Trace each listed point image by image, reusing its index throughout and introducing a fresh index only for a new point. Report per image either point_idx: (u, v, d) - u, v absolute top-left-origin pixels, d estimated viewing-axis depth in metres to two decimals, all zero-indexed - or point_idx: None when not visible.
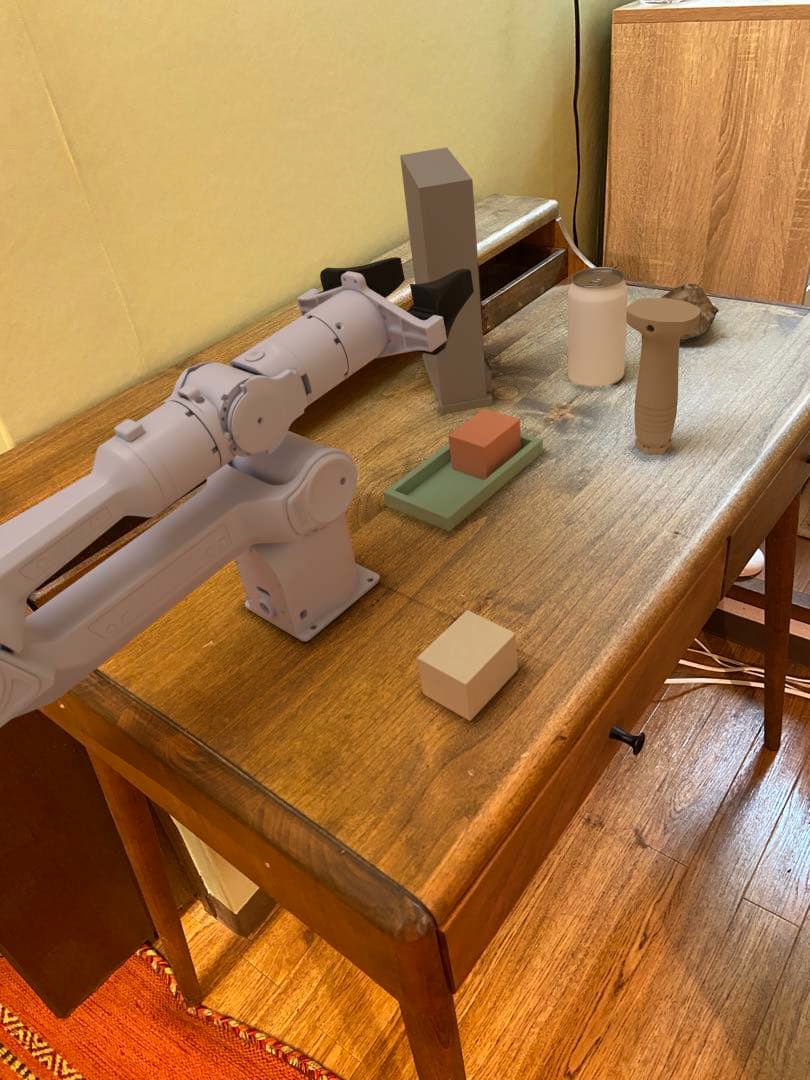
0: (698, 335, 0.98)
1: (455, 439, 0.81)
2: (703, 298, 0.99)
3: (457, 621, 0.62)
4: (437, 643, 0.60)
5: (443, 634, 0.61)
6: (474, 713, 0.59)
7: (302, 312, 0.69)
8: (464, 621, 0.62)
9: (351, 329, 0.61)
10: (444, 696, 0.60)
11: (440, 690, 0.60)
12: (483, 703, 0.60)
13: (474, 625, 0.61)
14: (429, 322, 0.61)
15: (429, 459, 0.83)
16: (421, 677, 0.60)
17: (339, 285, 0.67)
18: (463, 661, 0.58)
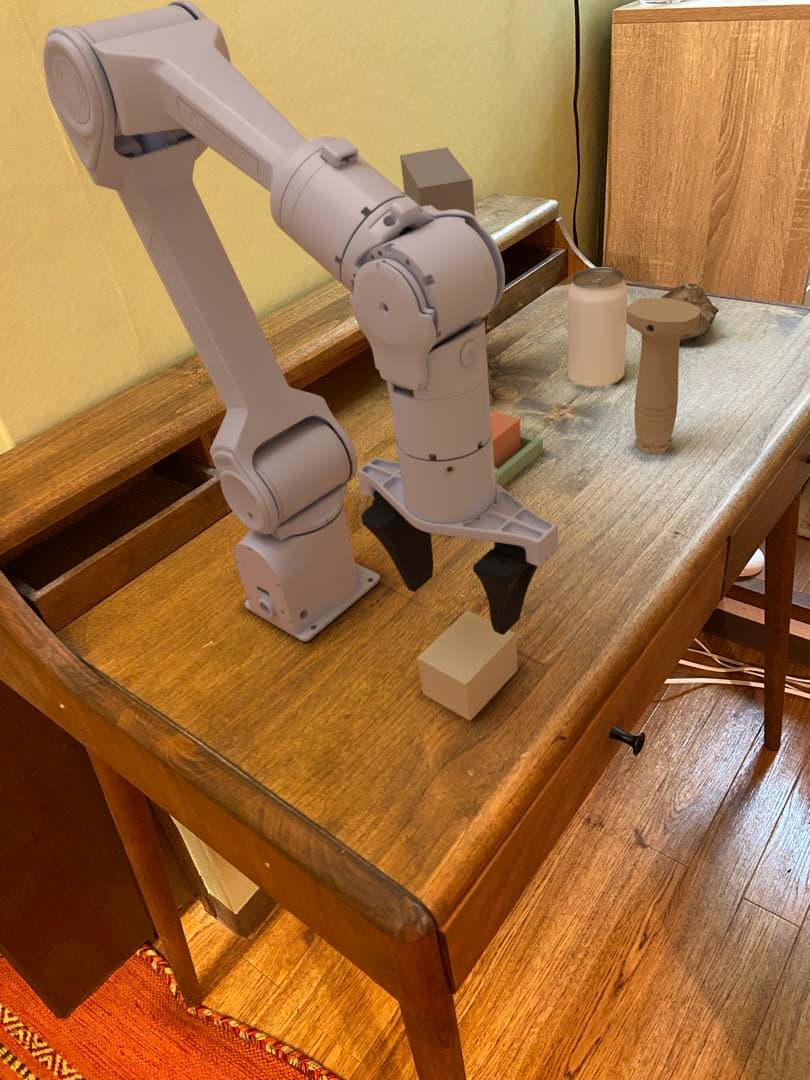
0: (698, 335, 0.98)
1: None
2: (703, 298, 0.99)
3: (457, 621, 0.62)
4: (437, 643, 0.60)
5: (443, 634, 0.61)
6: (474, 713, 0.59)
7: (365, 467, 0.55)
8: (464, 621, 0.62)
9: (492, 454, 0.49)
10: (444, 696, 0.60)
11: (440, 690, 0.60)
12: (483, 703, 0.60)
13: (474, 625, 0.61)
14: None
15: None
16: (421, 677, 0.60)
17: None
18: (463, 661, 0.58)
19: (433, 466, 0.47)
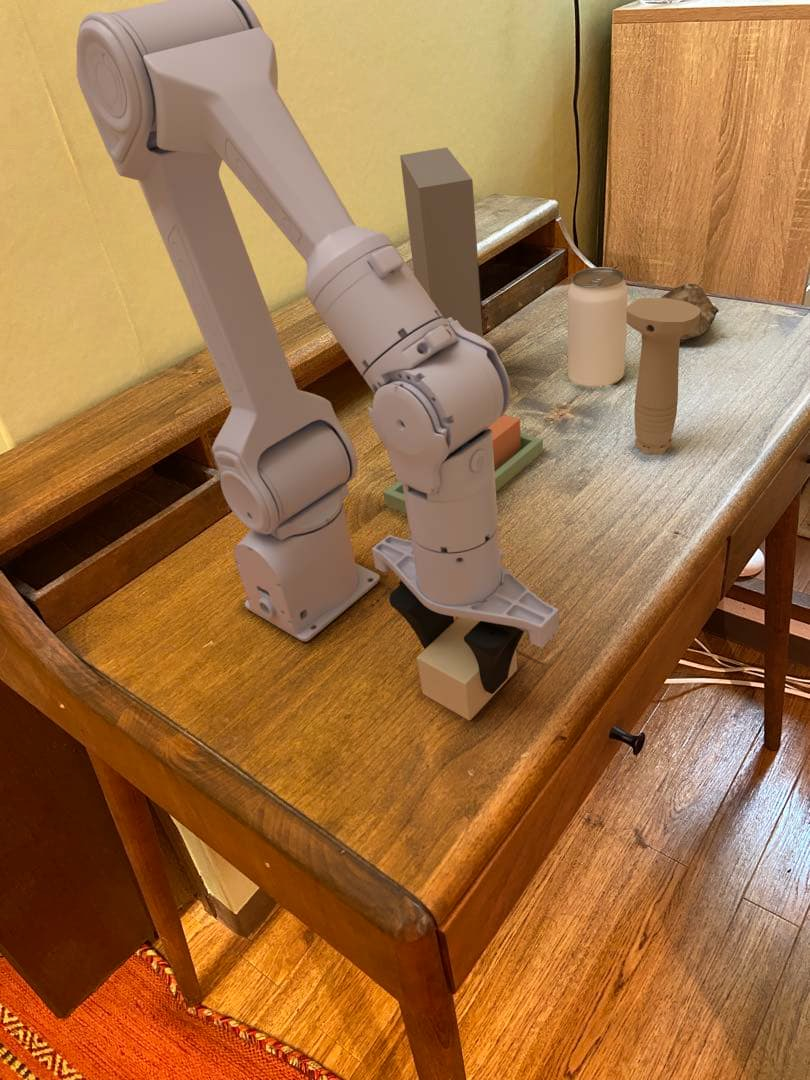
0: (698, 335, 0.98)
1: None
2: (703, 298, 0.99)
3: (457, 621, 0.62)
4: (437, 643, 0.60)
5: (443, 634, 0.61)
6: (474, 713, 0.59)
7: (379, 544, 0.59)
8: (464, 621, 0.62)
9: (498, 542, 0.53)
10: (444, 696, 0.60)
11: (439, 689, 0.60)
12: (483, 703, 0.60)
13: (473, 625, 0.61)
14: None
15: None
16: (421, 677, 0.60)
17: None
18: (463, 661, 0.58)
19: (444, 557, 0.51)
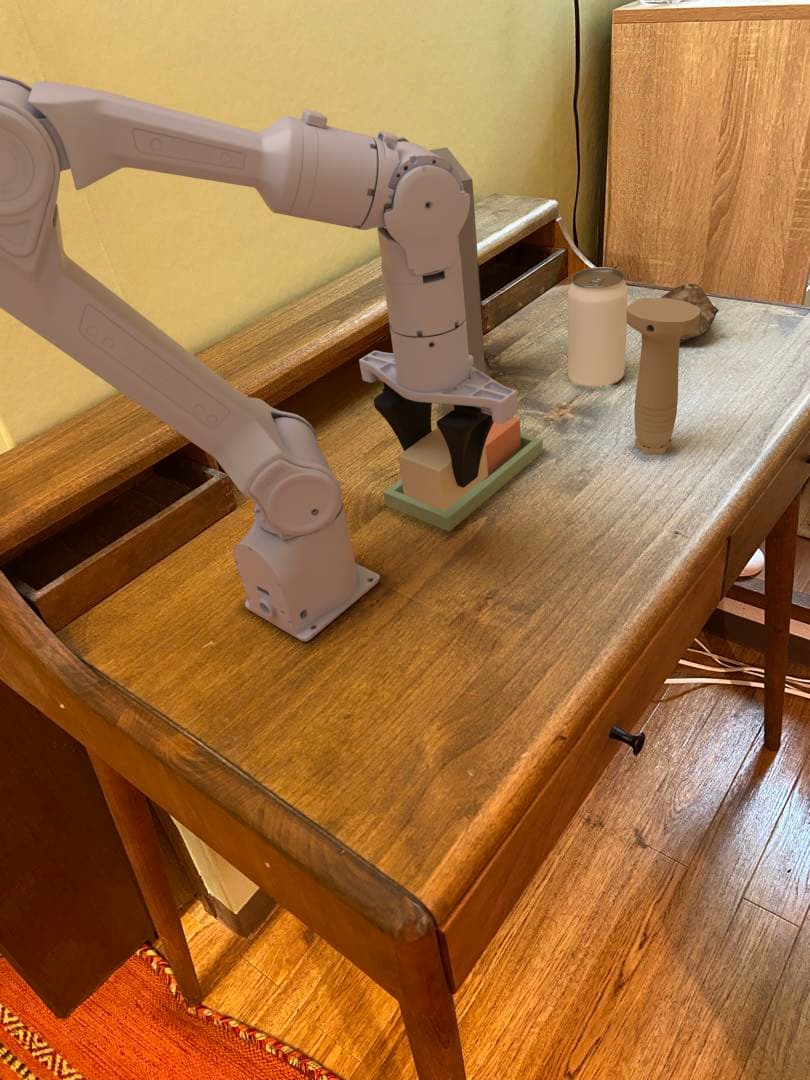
0: (698, 335, 0.98)
1: None
2: (703, 298, 0.99)
3: (434, 430, 0.70)
4: (416, 445, 0.69)
5: (422, 439, 0.69)
6: (448, 504, 0.68)
7: (365, 357, 0.68)
8: None
9: (466, 336, 0.61)
10: (422, 490, 0.68)
11: (418, 484, 0.68)
12: (456, 497, 0.68)
13: None
14: None
15: None
16: (402, 476, 0.69)
17: None
18: (438, 456, 0.67)
19: (418, 342, 0.59)
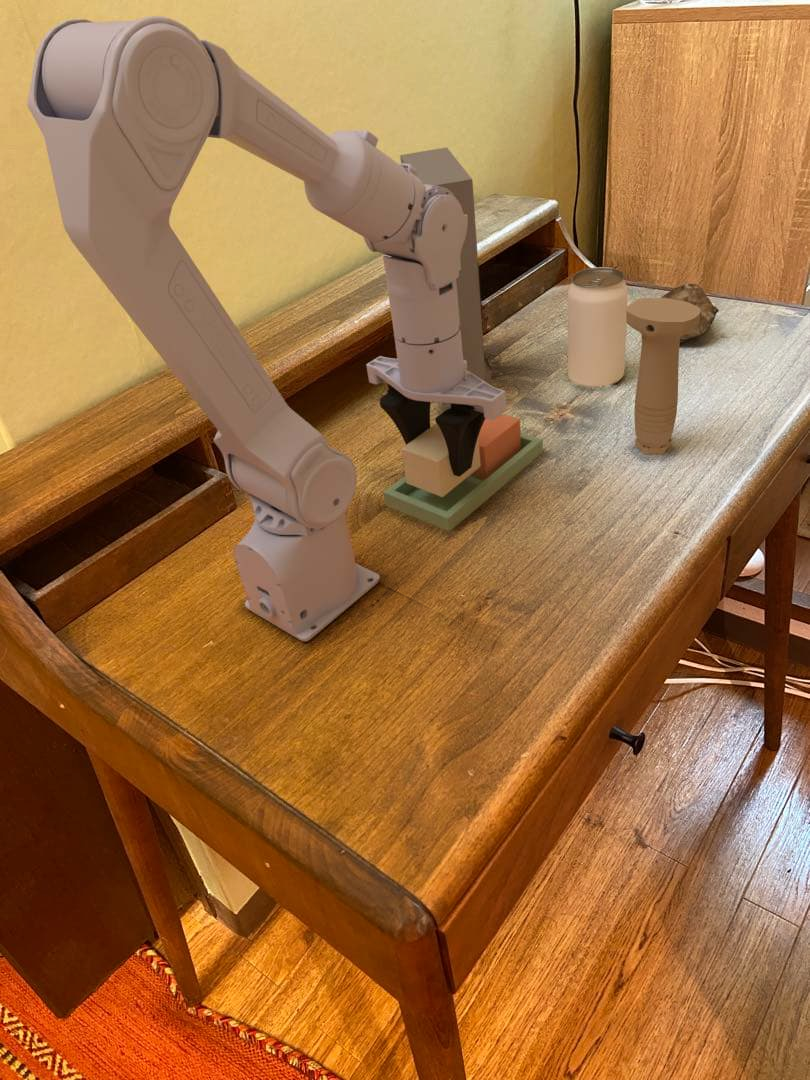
0: (698, 335, 0.98)
1: None
2: (703, 298, 0.99)
3: (433, 426, 0.79)
4: (417, 439, 0.78)
5: (422, 434, 0.78)
6: (445, 491, 0.77)
7: (372, 362, 0.77)
8: (438, 426, 0.79)
9: (461, 344, 0.70)
10: (422, 479, 0.77)
11: (419, 474, 0.77)
12: (452, 485, 0.77)
13: None
14: None
15: None
16: (405, 467, 0.78)
17: None
18: (437, 449, 0.76)
19: (419, 349, 0.68)
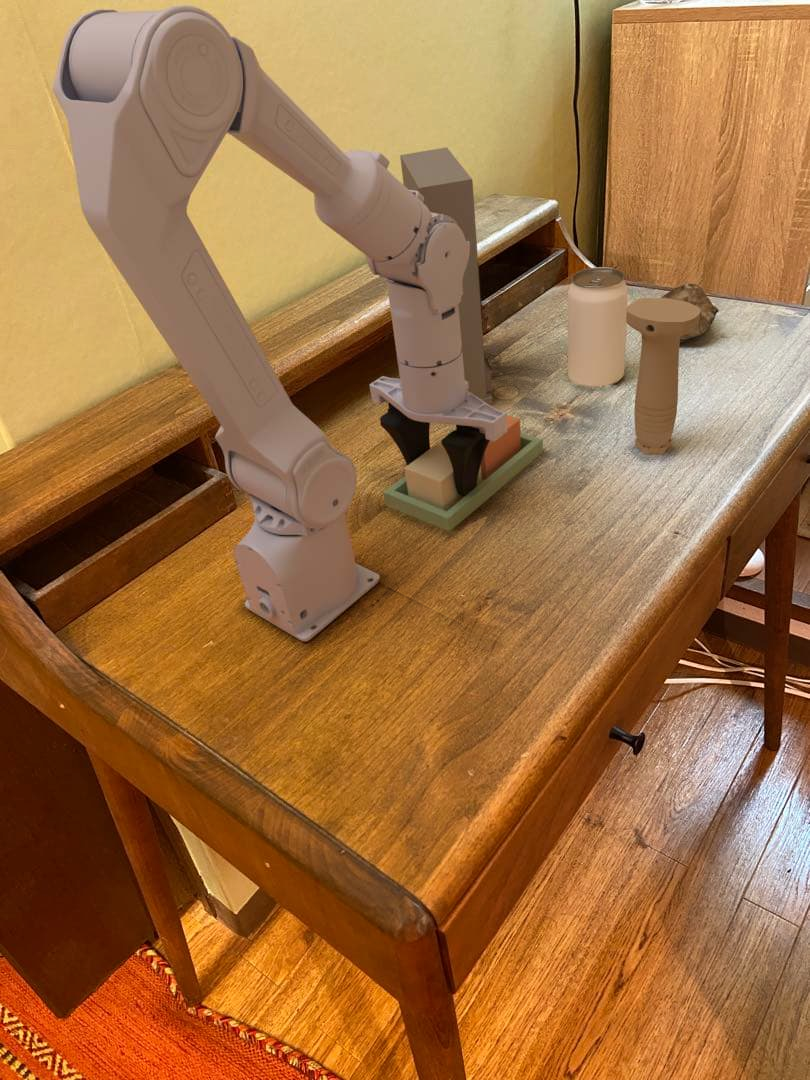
0: (698, 335, 0.98)
1: None
2: (703, 298, 0.99)
3: (435, 445, 0.80)
4: (420, 459, 0.79)
5: (424, 453, 0.79)
6: None
7: (375, 382, 0.78)
8: (441, 445, 0.80)
9: (463, 366, 0.72)
10: (425, 498, 0.78)
11: (422, 493, 0.78)
12: None
13: None
14: None
15: None
16: (408, 485, 0.79)
17: None
18: (439, 468, 0.77)
19: (422, 371, 0.70)
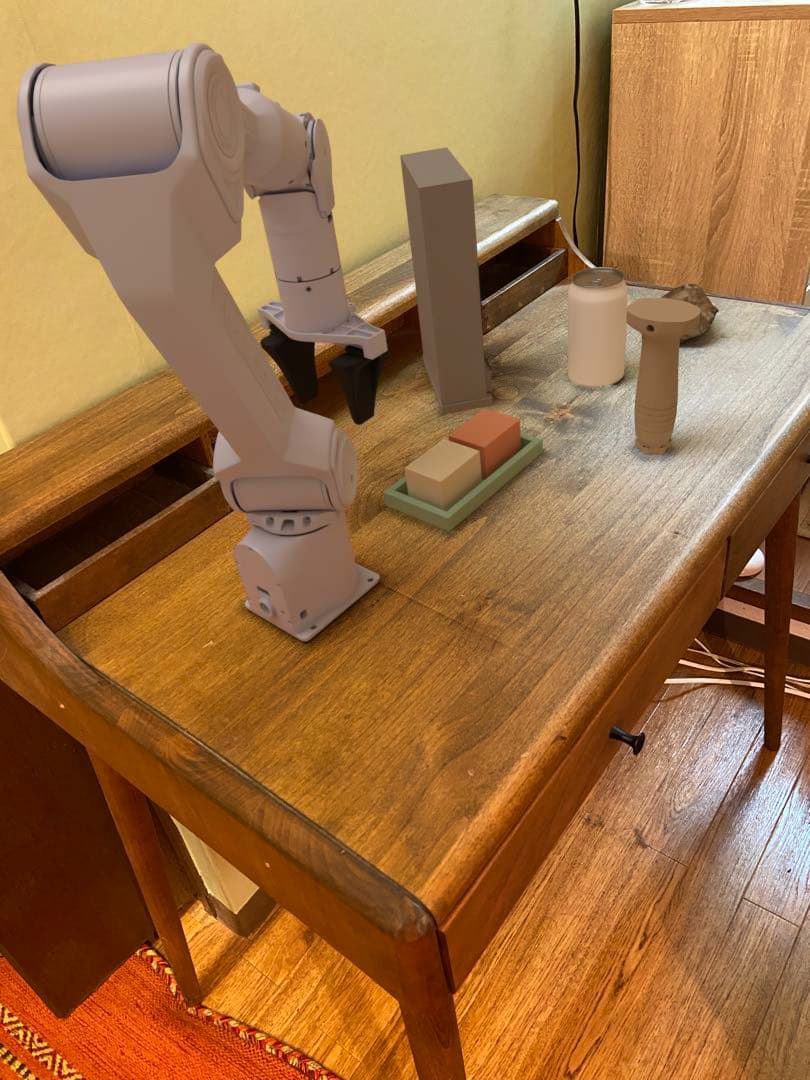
0: (698, 335, 0.98)
1: (455, 439, 0.81)
2: (703, 298, 0.99)
3: (435, 445, 0.80)
4: (420, 459, 0.79)
5: (424, 453, 0.79)
6: None
7: (263, 306, 0.77)
8: (441, 445, 0.80)
9: (342, 283, 0.70)
10: (425, 498, 0.78)
11: (422, 493, 0.78)
12: None
13: (448, 447, 0.80)
14: None
15: None
16: (408, 485, 0.79)
17: None
18: (439, 468, 0.77)
19: (297, 286, 0.68)
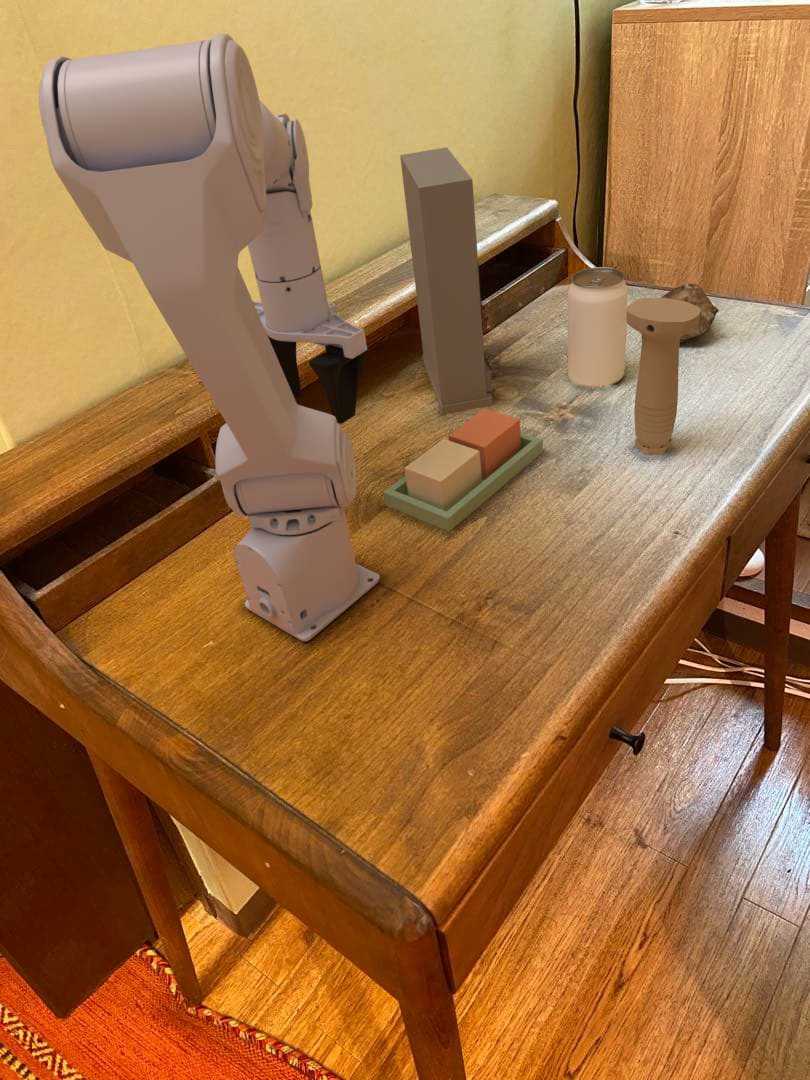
0: (698, 335, 0.98)
1: (455, 439, 0.81)
2: (703, 298, 0.99)
3: (435, 445, 0.80)
4: (420, 459, 0.79)
5: (424, 453, 0.79)
6: None
7: None
8: (441, 445, 0.80)
9: (322, 283, 0.71)
10: (425, 498, 0.78)
11: (422, 493, 0.78)
12: None
13: (448, 447, 0.80)
14: None
15: None
16: (408, 485, 0.79)
17: None
18: (439, 468, 0.77)
19: (276, 286, 0.69)
